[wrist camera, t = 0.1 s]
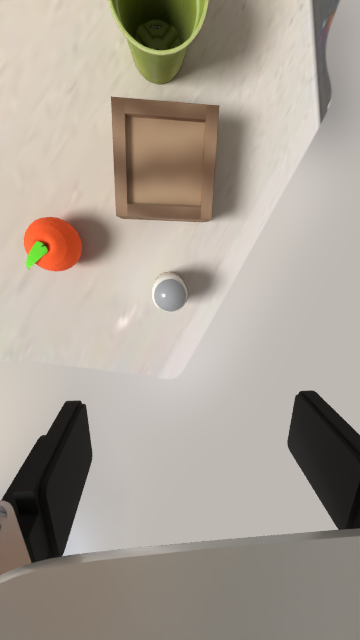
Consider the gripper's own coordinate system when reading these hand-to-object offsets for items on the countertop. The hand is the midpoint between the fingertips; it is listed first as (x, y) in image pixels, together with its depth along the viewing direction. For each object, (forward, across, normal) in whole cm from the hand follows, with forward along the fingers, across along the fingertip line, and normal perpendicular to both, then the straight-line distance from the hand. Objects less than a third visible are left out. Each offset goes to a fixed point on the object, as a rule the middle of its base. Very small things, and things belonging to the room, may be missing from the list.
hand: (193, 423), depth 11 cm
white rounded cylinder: (+31, 0, 0) cm, 31 cm away
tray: (+31, 0, -16) cm, 35 cm away
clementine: (+31, +16, -6) cm, 35 cm away
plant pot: (+31, +1, -29) cm, 42 cm away
